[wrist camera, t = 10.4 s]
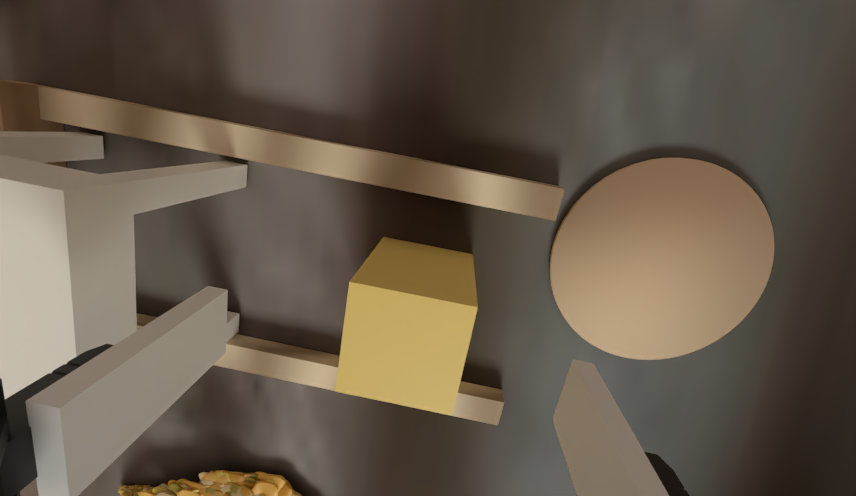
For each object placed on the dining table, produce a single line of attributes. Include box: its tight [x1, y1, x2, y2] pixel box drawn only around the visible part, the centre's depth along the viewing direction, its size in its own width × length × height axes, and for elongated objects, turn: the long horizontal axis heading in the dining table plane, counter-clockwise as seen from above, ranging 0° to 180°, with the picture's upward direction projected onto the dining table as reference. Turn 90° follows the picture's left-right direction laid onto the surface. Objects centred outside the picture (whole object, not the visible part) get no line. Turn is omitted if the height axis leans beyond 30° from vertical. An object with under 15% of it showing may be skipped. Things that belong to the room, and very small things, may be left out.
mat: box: [549, 158, 775, 360], centre depth 21 cm, size 11×11×1 cm
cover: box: [0, 131, 247, 399], centre depth 18 cm, size 9×10×10 cm
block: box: [335, 237, 478, 416], centre depth 19 cm, size 5×5×7 cm
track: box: [0, 79, 565, 425], centre depth 21 cm, size 28×14×3 cm, turn 80°
